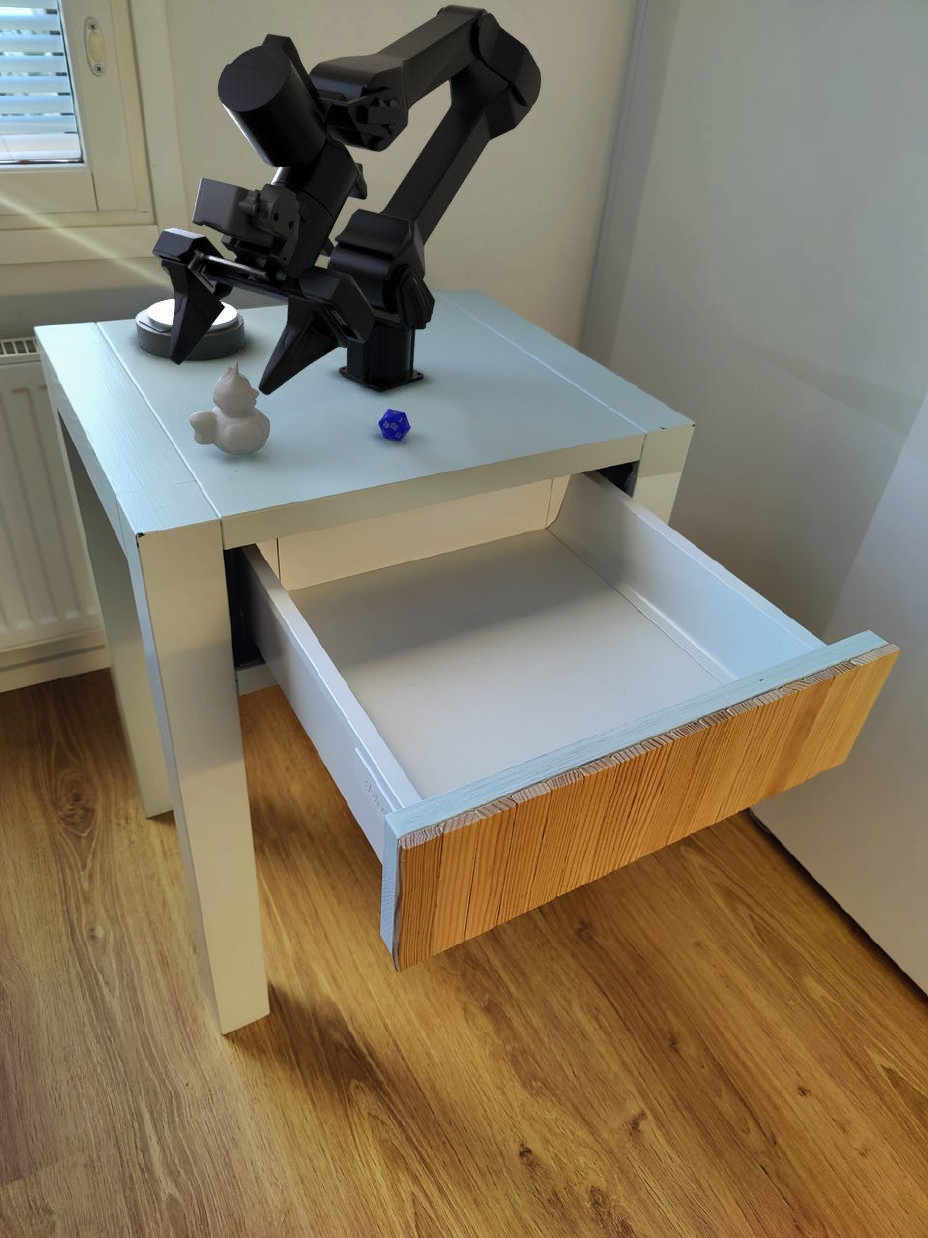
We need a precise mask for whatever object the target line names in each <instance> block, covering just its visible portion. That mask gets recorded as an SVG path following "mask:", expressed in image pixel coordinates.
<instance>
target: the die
mask: <svg viewBox="0 0 928 1238" xmlns="http://www.w3.org/2000/svg"><path fill="white" fill-rule="evenodd" d="M407 416H408V415H407V414H406V412H405V411H400V410H395V409H391V408H389V409H387V410H386V412H385V413H384V414H383V415H382V416H381V418H380V419H379V420H378V422H377V423H378V427H379V429H380V432H381V434H382V437H383V439H386V440H391V441H396V442H402V440H403V439H404V438H405V436H407V434H408V433H409V431H410V430H411V425H410V422H409V419H408V417H407Z"/></svg>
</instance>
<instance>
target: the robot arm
mask: <svg viewBox="0 0 928 1238" xmlns="http://www.w3.org/2000/svg"><path fill="white" fill-rule="evenodd" d="M447 81H448V82H449V96H450V106H449V108H448V110H447V111H446V112H445V113H444V115H443V117H442V119H440V122H439V123H438V125H437V126H436V128H435V129H434V131H433V132H432V134H431V136H430V137H429V139H428V141H426V143H425V145H424V146H423V148H422V150H421V151H420V153H419V154H418V156H417V157H416V159H415V160H414V161H413V163H412V165H411V166H410V168H409V170H408V171H407V173H406V174H405V176H404V178H403V179H402V181H401V182H400V184H399V185H398V187H397V188H396V189H395V191H394V193H393V194H392V195H391V198H390V199H389V201H388V202H387V204H386V205H385V207H384V208H383V209H382V210H381V211H380V212H377V211H372V210H368V209H364V208H357V209H355V211H354V212H352V214H351V215H350V217H349V219H348V221H347V223H346V225H345V226H344V229H343V230H342V231H341V232H340V233H339V234H338V235H336V236H335V237H334V242H336V245H334V243H333V242H332V240H331V238H330V235H331V233H332V231H333V230H334V226H335V225H336V222H337V221H338V219H339V217H340V214H341V212H342V210H343V209H344V206H345V204H346V202H347V200H348V198H353V199H357V200H361V201H365V200H367V198H368V185H367V184H368V183H367V182H366V179H365V176H364V165H363V164H362V163H360V162H356V161H355V160H354V158H353V156H352V154H351V153H350V151H349V149H348V147H352V148H356V149H361V150H366V151H371V152H375V153H381V152H384V151H386V150H387V149H388V148H389V147H390V146H391V145H392V144H393V143H394V142H395V140H397V138H398V137H400V135H401V134H402V133H403V132H404V131H405V129H406V128H407V127H408V125H409V112H410V109H411V108H413V106H415V104H417V103H418V102H419V101H421V100H422V99H424V98H425V97H426V96H428V95H429V94H430V93H432V92H433V91H435V90H436V89H437V88H438V89H439V87H440V86H442V85H444V83H446V82H447ZM541 87H542V72H541V69H540V67H539V65H538V63H537V62H536V61H535V59H534V56H533V55H532V53H531V52H530V50H529V48H528V47H527V46H526V45H525V44H524V43H522V42H521V41H520V40H518V39H517V38H516V37H515V36H513V34H511V33H510V32H508V31H507V30H505V29H504V28H503V27H501V25H500V23H499V21H498V20H497V18H496V17H495V16H494V14H493V13H492V12H489V11H488V10H487V9H485V8H482V7H474V6H466V5H459V4H448V5H446V6H442V7H441V8H440V9H438V11H437V12H436V15H435V16H433V17H432V18H430V19H429V20H427V21H425V22H424V23H422V24H420V25H419V26H417V27H416V28H414V29H413V30H410V31H409V32H408V33H406V34H404V35H402V36H401V37H399V38H398V39H397V40H395V41H393V42H391V43H390V44H388V45H387V46H385V47H383V48H381V49H380V50H379V51H377V52H375V53H371V54H366V55H350V56H340V57H337V58H331V59H329V60H324V61H321V62H318V63H317V64H316V65H314V66H313V68H311V70H310V72H309V73H308V72H307V69H306V68H305V66H304V64H303V62H302V60H301V57H300V54H299V51H298V49H297V47H296V45H295V43H294V41H293V40H292V38H291V36H286V35H280V34H274V33H267V34H266V36H265V37H264V39H263V41H262V43H261V45H257V46H255V47H252V48H251V47H250V48H249V49H247V50H245V51H244V52H242V53H241V54H239V55H238V56H237V57H236V58H234V59H233V61H232V62H231V63H227V64H226V65H224V67H223V70H222V71H221V73H220V76H219V79H218V84H217V95H218V98H219V100H220V103H221V104H222V106H224V109H225V110H226V111H227V112H228V114H229V116H230V117H231V119H232V120H233V121H234V123H235V124H236V125H237V127H238V128H239V131H240V132H242V134H243V136H244V137H245V138H246V140H247V141H248V142H249V144H250V145H251V147H252V148H253V150H254V151H255V153H256V154H257V156H258V157H259V159H261V161H262V162H263V163H264V164H266V165H268V166H270V167H273V168H277V169H278V170H277V171H276V173H275V176H274V178H273V179H272V181H271V183H265V184H264V185H263V186H262V188H261V190H260V189H256V188H255V189H254V190H252V189H248V188H245V187H243V186H240V185H236V184H232V183H227V182H223V181H218V180H214V179H211V178H206V177H201V178H200V182H199V185H198V186H199V187H198V190H197V196H196V200H195V204H194V211H193V213H192V219H191V222H192V223H193V224H194V225H196V226H198V227H203V226H205V227H207V228H209V229H211V230H214V231H216V232H217V233H220V234H222V237H221V239H220V243H221V244H222V245H223V247H224V248H226V249H227V251H229V252H232V253H233V254H234V255H235V257H234V260H233V259H229V258H226V257H225V256H224V255H223V254H222V253H221V252H220V251H219V250H218V248H217V247H216V246H215V245H214V244H213V243H212V242H211V240H210V239H208V237H207V236H206V235H202V234H199V233H195V232H192V231H188V230H184V229H180V228H176V227H172V228H171V227H170V228H167V229H162V231H161V233H160V235H159V236H158V239H157V241H156V242H155V244H154V246H153V248H152V250H151V253H152V254H153V256H154V257H156V259H158V260H159V261H160V266H161V269H162V271H164V272H165V273H166V274H167V275H168V276H169V278H170V281H171V284H172V288H173V299H174V313H173V322H172V332H171V341H170V351H169V358H168V359H169V360H170V361H171V362H172V363H173V364H174V365H177V366H181V364H182V363H183V362H185V361H186V360H185V359H186V358H187V357H188V356H189V355H190V354H191V352H192V351H193V350H194V349H195V347H196V346H197V345H198V343H199V342H200V341H201V339H202V338H203V337H204V335H205V334H206V333H207V331H208V330H209V329H210V327H211V326H212V325H213V323H214V322H215V321H216V319H217V318H218V317H219V315H220V314H221V313H222V311H223V310H224V309H225V306H224V305H223V304H222V303H221V302H222V301H221V300H223V299H225V298H227V297H228V296H230V295H231V293H232V291H233V289H234V288H237V289H241V290H244V291H247V292H251V293H254V294H258V295H262V296H265V297H268V298H272V299H275V300H278V301H282V302H285V303H287V315H286V324H285V326H284V328H283V331H282V332H281V335H280V336H279V339H278V341H277V343H276V345H275V347H274V349H273V351H272V353H271V355H270V358H269V359H268V362H267V364H266V366H265V368H264V370H263V373H262V375H261V377H260V380H259V383H258V391H259V392H261V394H262V395H265V396H270V395H271V394H272V393H274V392H275V391H277V390H278V389H279V388H281V387H282V386H283V385H284V384H286V383H287V382H288V381H290V380H291V379H293V378H294V377H295V376H297V375H298V374H299V373H301V372H302V371H303V370H305V369H306V368H307V367H309V366H310V365H311V364H313V363H315V362H317V361H318V360H320V359H322V358H323V357H325V356H326V355H328V354H330V353H332V352H334V351H335V350H336V349H338V348H342V349H346V365H345V366H340V367H338V374H340V375H342V376H344V377H346V378H347V379H350V380H352V381H354V382H356V383H359V384H361V385H363V386H364V387H366V388H369V389H371V390H373V391H375V392H378V393H383V392H386V391H390V390H394V389H397V388H400V387H403V386H407V385H410V384H412V383H415V382H419V381H422V380H424V377H425V374H424V373H423V372H420V371H418V370H416V369H415V368H414V363H415V345H416V343H415V342H416V331H421V330H422V331H423V330H425V329H427V324H429V323H431V321H432V319H433V318H432V317H433V315H434V308H435V306H436V299H435V297H434V295H433V293H432V292H431V290H430V288H429V287H428V285H427V284H426V282H425V276H426V271H427V270H426V258H425V257H426V256H425V245H426V244H427V242H428V241H429V239H430V237H431V235H432V234H433V232H434V230H435V229H436V227H437V226H438V224H439V222H440V221H441V219H442V218H443V216H444V215H445V213H446V211H447V210H448V208H449V207H450V205H451V204H452V201H453V200H454V198H455V197H456V195H457V194H458V192H459V190H460V189H461V187H462V186H463V185H464V183H465V181H466V179H467V178H468V176H469V174H470V173H471V171H472V170H473V168H474V166H475V165H476V164H477V162H478V160H479V158H480V157H481V155H482V153H483V152H484V150H485V149H486V147H487V146H488V144H489V143H490V141H492V140H494V139H496V138H498V137H501V136H502V135H505V134H507V133H509V132H511V131H513V130H515V129H516V128H517V127H518V126H519V124H521V122H523V120H524V119H525V117H526V116H527V115H528V114H529V113H530V112H531V110H532V108H533V107H534V105H535V104H536V102H537V101H538V99H539V96H540V93H541ZM320 256H323V257H327V258H328V260H327V265H326V267H323V266H318V265H316V264H317V262H318V260H319V257H320Z"/></svg>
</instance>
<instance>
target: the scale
mask: <svg viewBox="0 0 928 1238" xmlns="http://www.w3.org/2000/svg"><path fill="white" fill-rule="evenodd" d="M220 302H221V303H222V304H223V305H224V306H225V309H224V310H223V311H222V313H221V314H220V315H219V317H218V318H217V319H216V321H215V322H214V323H213V325H212V326H211V327H210V329H209V330H208V331H207V333H206V334H205V335H204V337H203V338H202V339H201V341H200V342H199V343H198V345H197V346H196V347H195V349H194V350H193V351H192V352H191V354H190V355H189V356H188V357H187V358H186V359H185V360H184V361H199V360H200V361H201V360H211V359H217V358H218V359H219V358H223V357H226V356H229V355H232V354H234V353H237V352H238V351H240V350H241V349H243V348H244V346H245V343H246V337H245V321H244V320H245V319H244V317H243V316H242V315H241V313H239V312H238V310H237V308H235V307H234V306H233V305H231V304H229V303H226V302H223V301H220ZM173 313H174V298H172V299H167V300H163V301H159V302H156V303H154V304H152V305H151V306H150V307H148V308H146V309H144V310H142V311H140V312H139V313H138V314H137V315H136V316H135V328H136V333H137V343H138V345H139V346H140V347H141V349H142V350H144V351H146V352H147V353H150V354H152V355H155V356H158V357H161V358H167V359H169V351H170V341H171V332H172V322H173Z"/></svg>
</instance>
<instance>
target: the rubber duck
mask: <svg viewBox="0 0 928 1238" xmlns="http://www.w3.org/2000/svg"><path fill="white" fill-rule="evenodd" d="M239 371H240V370H239V361H238V360H235V363H234V365H233V367H231V366H228V367H227V369H226V370H224V373H223V374H222V375H221V376H220V377H219V378H218V380H217V382H216V383H215V385H214V388H213V395H212V401H213V403H214V405H215V406H214V407H212V409H211V411H210V410H198V411H194V412H193V413H191V414H190V415H189V419H188V420H189V424H190V426H191V427H192V429H193V431H194V433H193V440H194V441H195V442H196V443H197V444H198V445H212V444H214V445H215V447H216V448H217V449H219V450H220V451H222V452H223V453H226V454H228V455H230V456H244V455H251V454H253V453H256V452H258V451H260V450H261V449H262V448H263V446H264V445H265V444H266V442H267V441H268V439H269V437H270V432H271V421H270V419H269V418H268V416H267V415H265V413H263V412H262V411H261V410H260V409H258V408H257V407H255V406H256V405H257V403H258V400H257V398H258V397H259V396H260V391H259V390H257V389H255V388H254V387H253V386H252V384H251V382H250V380H249V378H248V377H247V376H246V375H244V374H243V373H241V372H239Z"/></svg>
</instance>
